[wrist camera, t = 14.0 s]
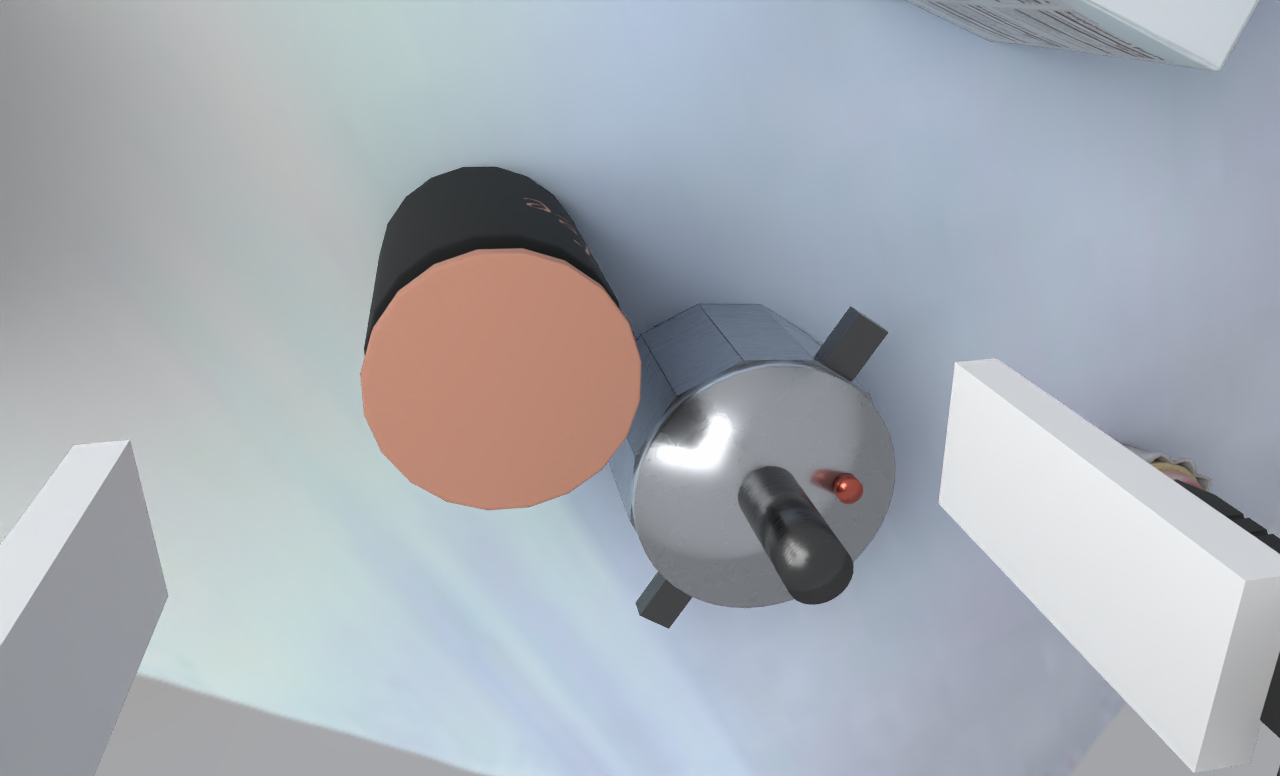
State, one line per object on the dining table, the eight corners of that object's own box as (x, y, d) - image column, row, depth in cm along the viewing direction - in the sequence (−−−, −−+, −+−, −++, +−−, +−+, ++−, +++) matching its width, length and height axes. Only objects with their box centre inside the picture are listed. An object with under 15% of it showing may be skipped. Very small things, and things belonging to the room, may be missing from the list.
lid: (628, 596, 55) (668, 720, 46) (622, 362, 49) (665, 451, 40) (866, 565, 57) (948, 677, 48) (885, 338, 52) (982, 417, 43)
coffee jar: (592, 333, 57) (659, 481, 40) (405, 369, 55) (396, 537, 39) (563, 145, 52) (624, 227, 36) (358, 179, 51) (326, 280, 35)
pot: (714, 584, 65) (755, 672, 57) (532, 496, 60) (548, 580, 52) (901, 332, 60) (975, 389, 52) (721, 214, 55) (772, 257, 47)
